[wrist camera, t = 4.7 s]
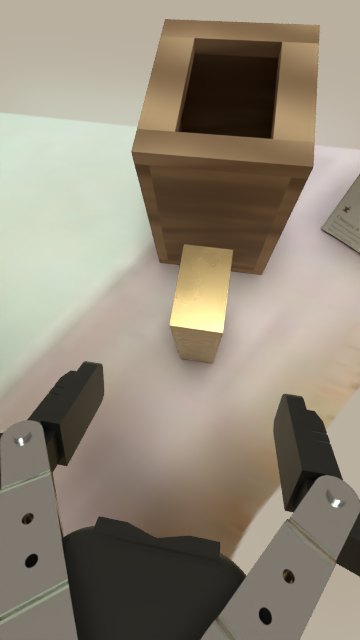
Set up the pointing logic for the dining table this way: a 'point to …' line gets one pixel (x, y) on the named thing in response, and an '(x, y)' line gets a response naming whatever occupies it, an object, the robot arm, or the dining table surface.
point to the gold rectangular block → (200, 301)
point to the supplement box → (347, 218)
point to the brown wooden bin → (227, 136)
